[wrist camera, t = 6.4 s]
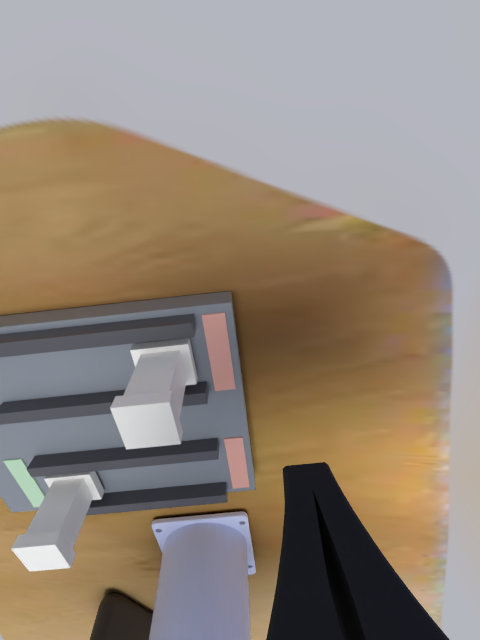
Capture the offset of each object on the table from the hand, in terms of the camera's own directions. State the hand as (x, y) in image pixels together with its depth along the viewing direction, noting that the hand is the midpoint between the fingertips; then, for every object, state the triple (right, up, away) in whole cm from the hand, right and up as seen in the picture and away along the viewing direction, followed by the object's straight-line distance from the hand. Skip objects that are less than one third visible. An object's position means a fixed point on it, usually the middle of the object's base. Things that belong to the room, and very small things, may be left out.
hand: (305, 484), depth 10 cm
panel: (-11, -1, +11) cm, 15 cm away
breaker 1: (-13, -6, +12) cm, 18 cm away
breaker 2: (-6, +3, +7) cm, 10 cm away
